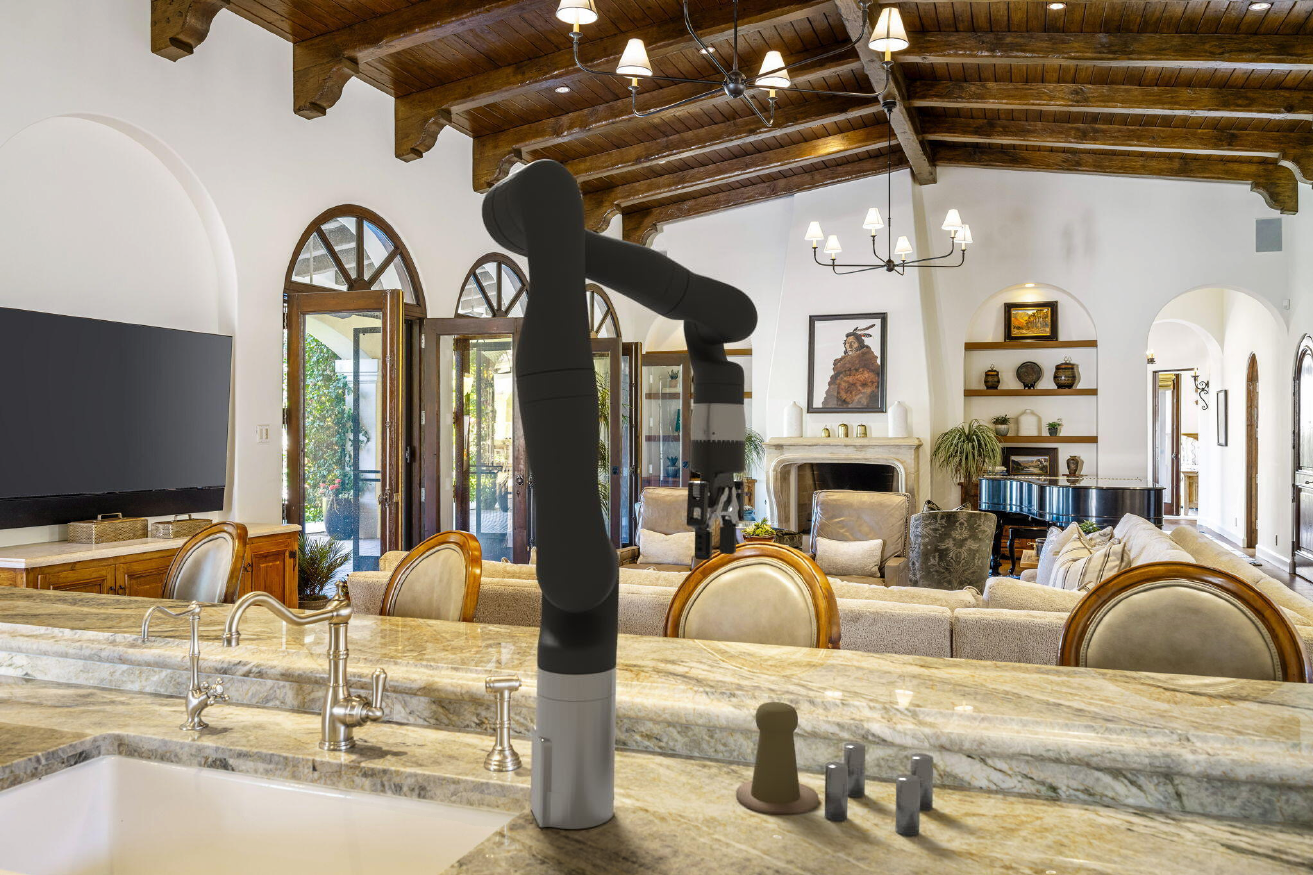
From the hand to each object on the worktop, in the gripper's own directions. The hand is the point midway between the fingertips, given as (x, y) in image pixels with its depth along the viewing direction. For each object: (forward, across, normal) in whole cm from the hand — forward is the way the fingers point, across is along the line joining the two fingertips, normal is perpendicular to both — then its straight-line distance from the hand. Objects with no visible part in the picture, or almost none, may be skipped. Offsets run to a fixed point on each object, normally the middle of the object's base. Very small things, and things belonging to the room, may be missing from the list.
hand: (715, 556), depth 124 cm
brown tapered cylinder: (+28, -8, -12) cm, 31 cm away
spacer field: (+28, -6, -24) cm, 37 cm away
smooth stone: (+28, -8, -12) cm, 32 cm away
